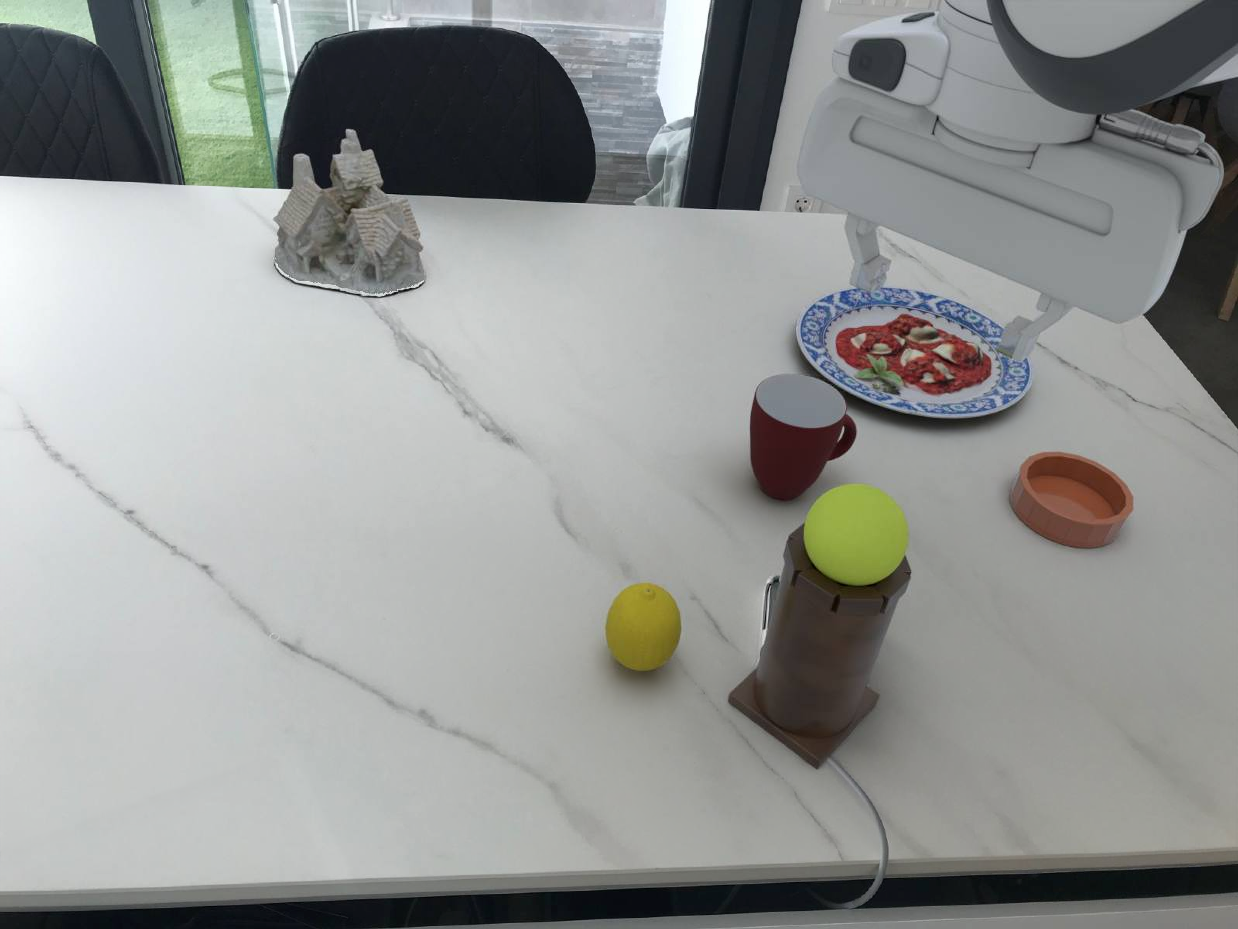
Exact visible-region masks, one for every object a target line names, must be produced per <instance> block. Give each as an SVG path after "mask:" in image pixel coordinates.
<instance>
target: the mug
mask: <svg viewBox="0 0 1238 929" xmlns="http://www.w3.org/2000/svg"><path fill="white" fill-rule="evenodd" d="M847 411H848V405H847V401H846V399H845V398H844V396H843V395H842V393H841V392H840V391H839V390H838V389H837V388H836V387H834V386H833V385H831V384H830V383H828V382H827V381H824V380H822V379H819V378H817V377H814V376H810V375H805V374H801V373H799V374H798V373H781V374H776V375H772V376H770V377H767V378H766V379H763V380H762V381H761V382H760V383H759V384H758V385H757V386H756V389H755V392H754V395H753V399H752V404H751V408H750V416H749V448H750V449H749V456H750V459H749V460H750V466H751V469H752V472H753V474H754V477H755V480H756V482H757V483H758V486H759V488H760V489H761V491H762V492H763V493H764V494H765V495H767V496H769V497H771V498H773V499H776V500H779V501H780V500H781V501H788V500H794V499H797V498H798V497H799V496H801V495H802V494H803V493H804V492H806V491H807V490H808V489H810V488H811V486H812V485H814V484H815V483H816V481H817V480H818V479H819V478H820V476H821V474H822V472H823V471H824V469H825V467H826V465H827V463H828V462H830V461H834V460H836V459H839V458H841V457H842V456H844V455H845V454H846V453H847V452H848V451H849V450H851V448H852V446H853V445H854V443H855V441H856V438H857V434H858V428H857V425H856V423H855V421H854V419H853V418H852V417H851V416H850V415H849V414H847ZM842 431H843V432H842ZM841 434H842V435H841Z"/></svg>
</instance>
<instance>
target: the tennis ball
mask: <svg viewBox="0 0 1238 929" xmlns="http://www.w3.org/2000/svg"><path fill="white" fill-rule="evenodd" d="M804 522H805V526H804V542H805V547H806V550H807V553H808V555H809V557H810V559H811V561H812V562H813V564H814V565H815V567H816V568H817V569H818V570H819V571H820V572H822V573H823V574H824V575H825V576H827V577H828V578H830V579H831V580H833V581H836V582H838V583H841V584H845V585H850V586H864V585H869V584H873V583H876V582H878V581H881V580H882V579H884V578H886V577H887V576H889V575H890V574H891V573H892V572H893V571H894V570H895V569H896V568H897V567H898V566H899V564H900V563H901V561H902V560H903V558H904V556H905V555H906V554H907V549H908V547H909V538H910V536H909V535H910V532H909V525H908V522H907V519H906V516H905V514H904V512H903V510H902V507H901V506H900V505H899V504H898V503H897V501H896V500H895V499H894V498H893V497H891V496H890V495H889V494H888V493H886V492H885V491H884V490H881V489H880V488H877V487H876V486H872V485H869V484H864V483H847V484H842V485H838V486H836V487H835V486H834V487H833V488H832V489H829V490H827V491H826V492H825V493H823V494H822V495H820V497H818V498H817V499H816V501H814V503H813V504H812V506H811V507H810V509H809V511H808V513H807V515H806V518H805V521H804Z"/></svg>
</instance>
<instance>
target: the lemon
mask: <svg viewBox="0 0 1238 929" xmlns="http://www.w3.org/2000/svg"><path fill="white" fill-rule="evenodd" d="M681 618H682V617H681V612H680V608H679V606H678V604H677V602H676V599H675V598H674V597H673V595H672V594H671V593H670V592H669V591H668V590H666V589H665V588H663V587H662V586H660V585H658V584H655V583H650V582H638V583H633V584H631V585H629V586H627V587H625V588H624V589H622V590H621V591H620V592H619V593H618V594H617V595H616V596H615V598H614V600H613V601H612V603H611V605H610V607H609V609H608V612H607V616H606V620H605V621H606V622H605V630H604V631H605V640H606V644H607V646H608V649H609V650H610V652H611V654H612V656H613V657H614V658H615V659H616V660H617V662H618V663H620V664H621V665H622V666H624V667H625V668H628V669H630V670H633V671H638V672H647V671H651V670H655V669H657V668H659V667H661V666H663V665H664V664H665V663H667V662H668V661H669V660H670V659H671V657H672V656H673V654H674V653H675V651H676V650H677V648H678V646H679V642H680V638H681V634H682V619H681Z"/></svg>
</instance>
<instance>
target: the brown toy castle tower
mask: <svg viewBox="0 0 1238 929" xmlns="http://www.w3.org/2000/svg"><path fill="white" fill-rule="evenodd" d="M804 526H805V521H804V522H803V523H802V524H800V526H798V527H797V528H795V530H794V531H792V532H791V533H789V535H788V536H787V540H786V543H785V545H784V546H785V547H784V550H783V554H782V557H783V562H784V564H783V567H782V571H781V576H780V579H779V583H778V588H777V592H776V595H775V598H774V603H773V606H772V610H771V615H770V618H769V622H768V626H767V629H766V634H765V638H764V641H763V644H762V649H761V654H760V657H759V661H758V665H757V667H755V669H753V671H752V672H751V673H749V674H748V675H747V676H746V677H745V678H744V679H743V680H742V681H741V682H740V683H739V684H738V685H737V686H736V687H735V688H734V689H732V691H730V692H729V695H728V698H727V702H728V703H729V704H730V705H732V706H733V707H735V708H736V709H737V710H738V711H739V712H741V713H742V714H743V715H745V716H746V717H747V718H749V719H750V720H752V721H753V722H754V723H756V724H757V725H758V726H760V727H761V728H762V729H763V730H765V731H766V732H767V733H768V734H770V735H772V736H773V737H774V738H775V739H777V740H778V741H779V742H781V743H782V744H783V745H785V746H786V747H787V748H789V749H790V750H791V751H793V752H794V753H795V754H796V755H798V756H799V757H801V759H803V760H805V761H806V762H807V763H809V765H811V766H812V767H813V768H815V769H817V770H818V769H819V768H820V767H821V766H822V765H823V764H824V763H825V761H826V760H827V759H828V758H829V757H830V756H831V755H832V754H833V753H834V751H835V750H836V749H837V748H838V747H839V746H840V745H841V744H842V742H844V740H846V738H847V737H848V736H849V735H850V734H851V732H853V730H854V729H856V727H858V725H859V724H860V723H861V722H862V720H863V719H864V718H865V717H866V716H867V715H868V714H869V712H870V711H871V710H873V709H874V707H875V706H876V705H877V704H878V701H879V699H880V696H881V695H880V694H879V693H878V692H876V691H875V690H873V689H872V688H870V687H869V686H868V683H869V680H870V678H871V675H872V672H873V669H874V667H875V664H876V662H877V659H878V656H879V653H880V651H881V648H882V646H883V642H884V640H885V637H886V635H887V633H888V629H889V627H890V625H891V622H892V619H893V616H894V614H895V610H897V609H896V608H897V606H898V603H899V601H900V599H901V597H903V596H904V595H905V594H906V592H907V589H908V586H909V584H910V581H911V579H912V576H911V575H912V572H913V571H912V569H911V566H910V563H909V560H908V558H907V555H906V554H905V556H904V558H903V560H902V561H901V563H900V564H899V566H898V567H897V568H896V569H895V570H894V571H893V572H892V573H891V574H890V575H889V576H887V577H886V578H884V579H882V580H881V581H878V582H876V583H873V584H869V585H864V586H850V585H845V584H841V583H838V582H836V581H833V580H831V579H830V578H828V577H827V576H825V575H824V574H823V573H822V572H820V571H819V570H818V569H817V568H816V567H815V565H814V564H813V562H812V561H811V559H810V557H809V555H808V553H807V550H806V547H805V542H804ZM828 756H829V757H828ZM827 757H828V758H827Z"/></svg>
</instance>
